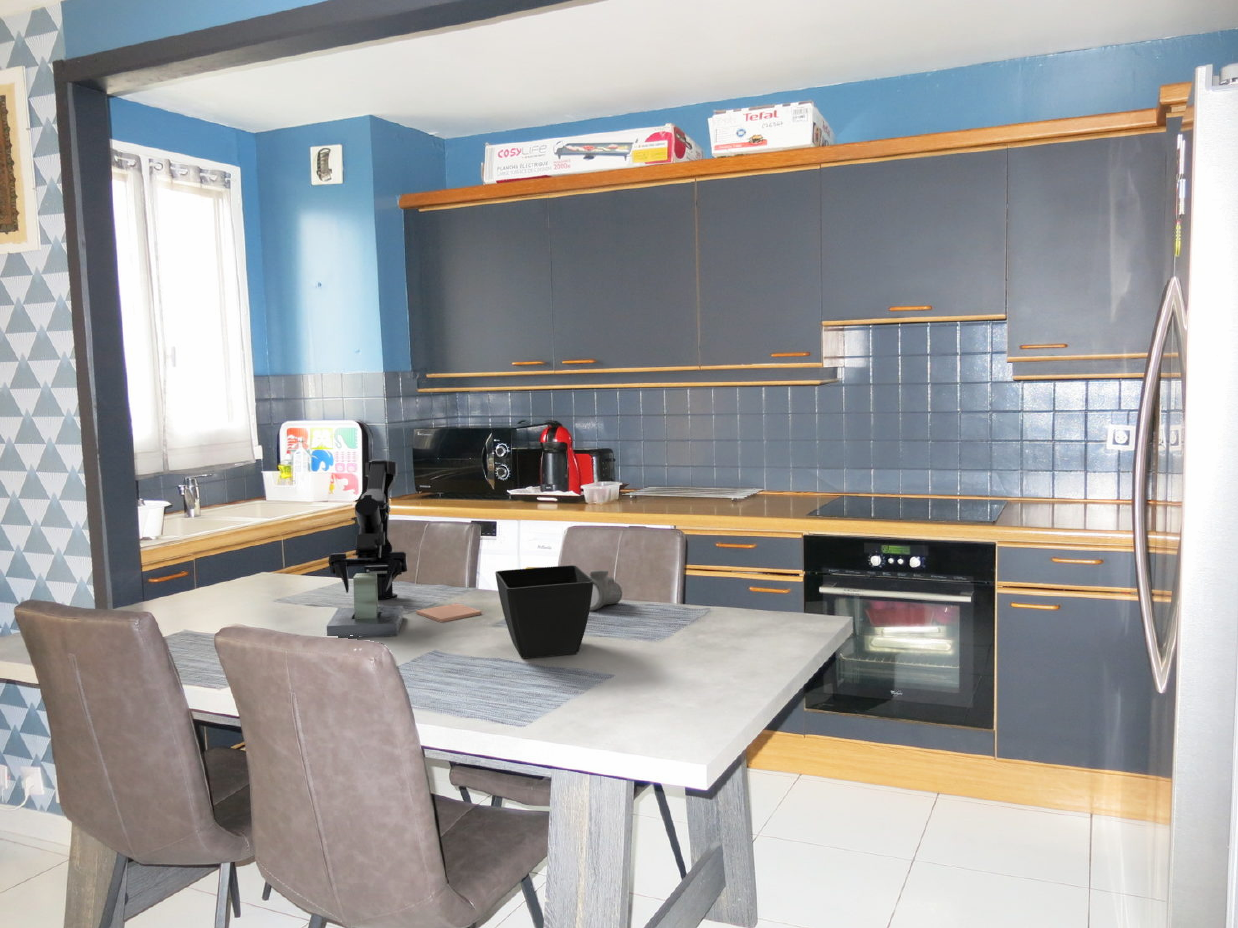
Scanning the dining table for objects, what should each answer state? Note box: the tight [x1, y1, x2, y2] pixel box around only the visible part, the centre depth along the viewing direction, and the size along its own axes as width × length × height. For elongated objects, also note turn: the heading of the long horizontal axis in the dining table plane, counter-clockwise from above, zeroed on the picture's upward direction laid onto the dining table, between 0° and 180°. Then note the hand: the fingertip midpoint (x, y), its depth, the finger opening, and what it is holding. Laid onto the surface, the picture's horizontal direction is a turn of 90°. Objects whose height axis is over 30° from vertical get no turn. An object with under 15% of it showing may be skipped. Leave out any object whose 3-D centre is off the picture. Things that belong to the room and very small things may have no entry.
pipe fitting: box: [588, 569, 623, 612], centre depth 257 cm, size 12×8×10 cm, turn 142°
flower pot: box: [495, 564, 593, 659], centre depth 216 cm, size 19×19×17 cm
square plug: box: [352, 572, 379, 619], centre depth 237 cm, size 5×5×13 cm
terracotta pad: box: [415, 603, 482, 623], centre depth 250 cm, size 12×12×1 cm
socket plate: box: [326, 605, 404, 639], centre depth 237 cm, size 18×16×3 cm
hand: (366, 591), depth 238 cm, fingers open, 9 cm apart
